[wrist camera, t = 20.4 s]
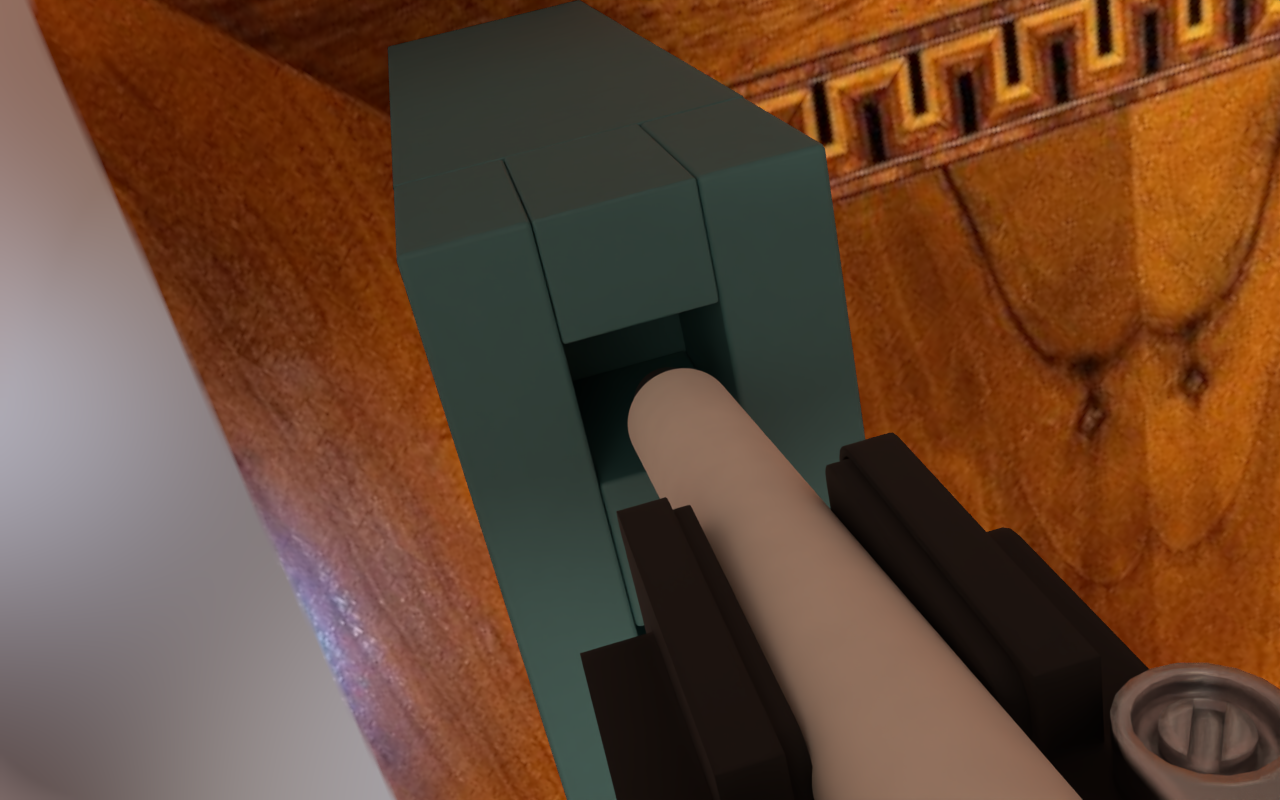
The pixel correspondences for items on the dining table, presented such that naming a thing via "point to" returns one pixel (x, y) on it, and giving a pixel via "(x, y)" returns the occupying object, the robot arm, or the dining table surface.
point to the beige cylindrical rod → (830, 616)
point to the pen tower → (602, 302)
